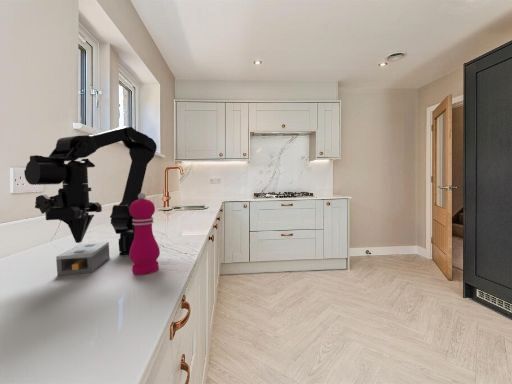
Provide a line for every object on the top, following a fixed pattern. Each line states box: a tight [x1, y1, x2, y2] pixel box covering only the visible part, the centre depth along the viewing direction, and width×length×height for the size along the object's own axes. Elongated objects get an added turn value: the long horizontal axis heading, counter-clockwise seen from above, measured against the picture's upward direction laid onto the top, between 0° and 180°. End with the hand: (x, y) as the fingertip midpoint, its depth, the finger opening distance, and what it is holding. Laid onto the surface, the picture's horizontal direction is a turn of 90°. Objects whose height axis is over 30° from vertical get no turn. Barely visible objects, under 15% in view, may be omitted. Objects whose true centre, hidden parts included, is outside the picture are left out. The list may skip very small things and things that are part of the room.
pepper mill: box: [128, 192, 161, 276], centre depth 70 cm, size 7×7×20 cm
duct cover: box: [55, 241, 110, 260], centre depth 76 cm, size 8×14×1 cm, turn 12°
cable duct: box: [55, 245, 111, 276], centre depth 77 cm, size 8×14×4 cm, turn 12°
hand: (78, 242), depth 73 cm, fingers closed
